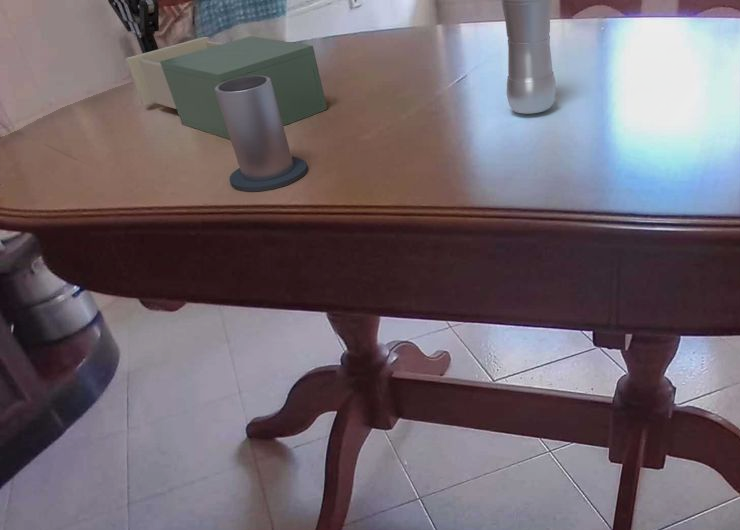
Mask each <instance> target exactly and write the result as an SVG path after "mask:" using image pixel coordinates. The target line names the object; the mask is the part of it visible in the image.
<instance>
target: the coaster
mask: <svg viewBox="0 0 740 530" xmlns="http://www.w3.org/2000/svg"><path fill="white" fill-rule="evenodd" d="M291 157H292V161H293V164H294V168H293V169H292V170H291V171H290V172H289V173H287V174H285V175H283V176H281V177H278V178H275V179H271V180H265V181H249V180H246V179H244V178H243V176H242V173H241V170H240V167H238V168H237V169H235V170H234V171H233V172H232V173H231V174H230V176H229V179H228V180H229V182H230V186H231V187H232V188H233V189H235V190H238V191H242V192H252V193H253V192H264V191H265V192H266V191H271V190H276V189H280V188H282V187H286V186H288V185H291V184H293V183H295V182H297V181H299V180H300V179H302V178H304V177H305V175H306V174H307V173H308V170H309V169H308V164H307V162H306V161H305V160H304V159H302V158H300V157H297V156H296V157H295V156H291Z"/></svg>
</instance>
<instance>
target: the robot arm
mask: <svg viewBox="0 0 740 530" xmlns="http://www.w3.org/2000/svg"><path fill="white" fill-rule="evenodd" d="M107 2H108V4H109V5H110V7H111V8H112V10H113V11H114V12H115V14H116V16H117V17H118V19H119V20H120V22H121V24H122V25H123V26H124V28H125V29H126V31H127V32H128V33H130V32H131V33H132V35H133V37H134V38H136V39H137V43H138V45H139V48H140V51H141V54H143V53H147V52H150V51H154V50H158V49H159V47H158V43H157V41H156V38H155V36H154V35H155V34H156V32H159V31H160V29H159V28H160V22H159V21H160V13H159V9H160V8H159V6H160V5H159V1H158V0H107Z"/></svg>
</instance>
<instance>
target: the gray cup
mask: <svg viewBox="0 0 740 530" xmlns="http://www.w3.org/2000/svg"><path fill="white" fill-rule="evenodd" d="M215 92H216V95H217V98H218V101H219V104H220V107H221V111H222V114H223V117H224V120H225V123H226V126H227V129H228V132H229V136H230V139H231V140H230V139H229V140H230V141H231V145H232V148H233V151H234V154H235V158H236V160H237V161H236V162H237V164H238V168H240V170H241V173H242V176H243V178H244V179H246V180H249V181H265V180H271V179H275V178H278V177H281V176H283V175H285V174H287V173H289V172H290V171H291V170H292V169H293V168H294V164H293V161H292V157H293V156H292V153H291V149H290V146H289V142H288V139H287V136H286V130H285V128H284V127H285V126H283V124H282V120H281V116H280V112H279V109H278V105H277V101H276V98H275V94H274V90H273V87H272V83H271V79H270V78H269V77H266V76H247V77H241V78H236V79H232V80H229V81H226V82H223V83H221V84H219V85H218V86H216V87H215Z"/></svg>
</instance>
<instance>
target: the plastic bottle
mask: <svg viewBox="0 0 740 530" xmlns="http://www.w3.org/2000/svg"><path fill="white" fill-rule="evenodd" d="M500 2H501V6H502V12H503V17H504V22H505V29H506V37H507V47H508V53H507V55H508V57H507V58H508V59H507V60H508V61H507V66H508V68H507V71H508V73H507V74H508V75H507V80H506V98H507V102H508V105H509V107H510V108H511V109H512V111H513V112H515V113H518V114H526V115H527V114H529V115H530V114H538V113H542V112H545V111H547V110H549V109H551V108H552V107H553V105H554V103H555V101H556V96H557V83H556V77H555V74H554V71H553V61H552V51H551V35H550V33H551V13H552V2H553V0H501V1H500Z"/></svg>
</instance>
